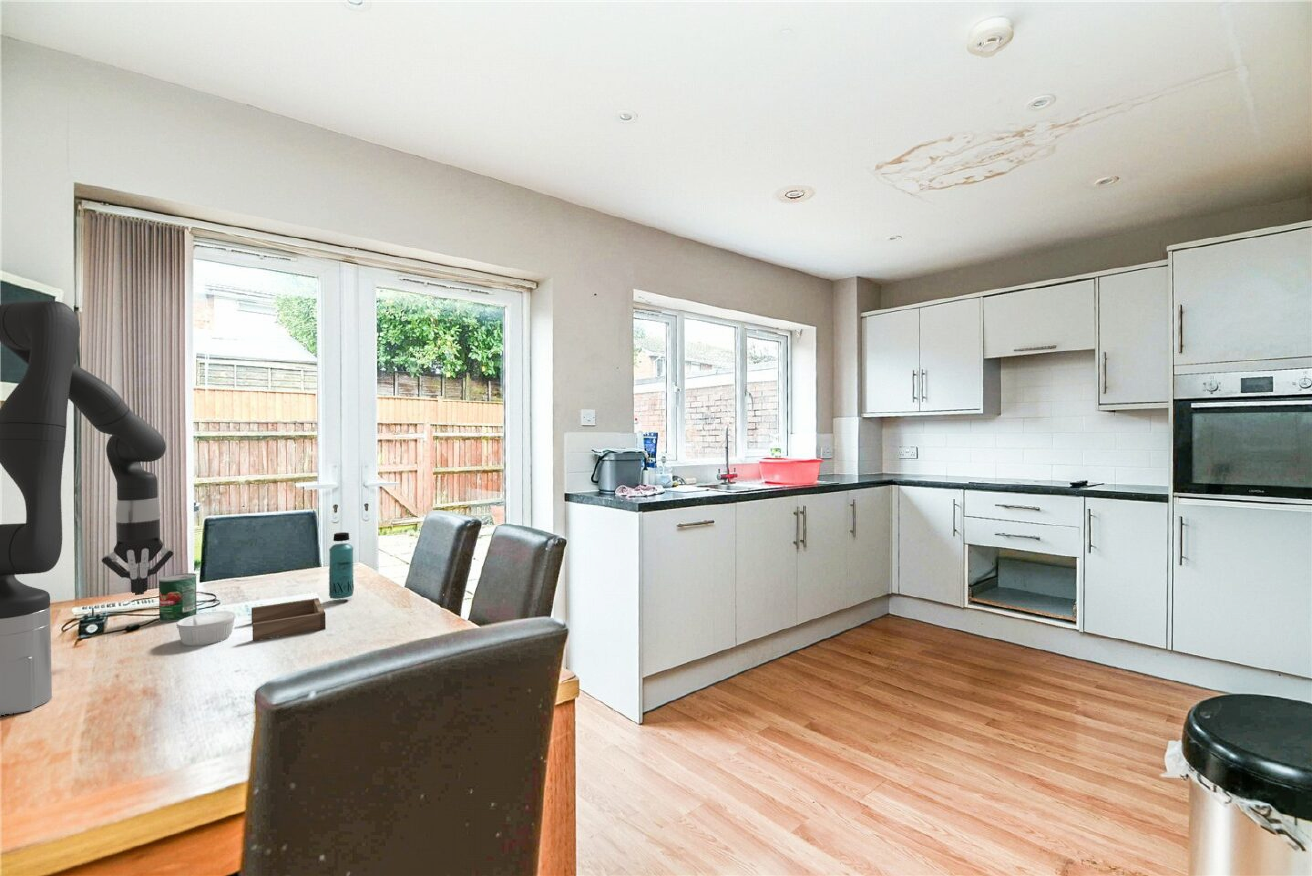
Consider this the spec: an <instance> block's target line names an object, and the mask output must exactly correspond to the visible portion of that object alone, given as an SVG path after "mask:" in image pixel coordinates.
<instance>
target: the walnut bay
mask: <svg viewBox="0 0 1312 876" xmlns="http://www.w3.org/2000/svg"><path fill="white" fill-rule="evenodd" d="M250 613H251V625H252V642H257V641H256V640H258V641H261V640H260V639H264V640H267V639H266V638H270V637H276V638H278V637H277V636H282V637H286V636H287V635H288V636H292V635H293V636H294V635H298V633H299V634H304V633H303V632H305V633H309V631H311V632H316V631H315V630H317V631H321V629H323V630H326V624H327V623H326V612H325V610H324V607H323V605H322V603H321V601H320V599H319V597H316V598H310V599H309V598H308V599H303V600H296V601H289V602H281V603H274V604H267V605H260V606H254V607H253V606H252V607H251V612H250ZM270 639H271V638H270Z"/></svg>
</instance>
